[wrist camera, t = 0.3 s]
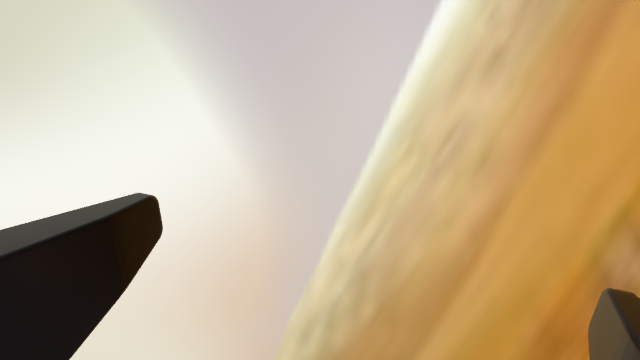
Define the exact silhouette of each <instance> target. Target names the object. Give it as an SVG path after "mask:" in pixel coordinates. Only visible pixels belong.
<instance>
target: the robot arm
mask: <svg viewBox="0 0 640 360" xmlns="http://www.w3.org/2000/svg"><path fill="white" fill-rule="evenodd" d="M162 229H163V226H162V220H161V214H160V208H159V203H158V200H157V198H156V197H154V196H152V195H147V194H142V193H136V194H132V195H128V196H125V197H121V198H117V199H114V200H110V201H106V202H102V203H99V204H95V205H91V206H88V207H84V208H80V209H77V210H73V211H69V212H65V213H62V214H58V215H54V216H51V217H47V218H43V219H40V220H36V221H32V222H29V223H25V224H21V225H18V226H14V227H10V228H6V229H3V230H0V360H69V359H70V358H71V357H72V356H73V354H74V353H75V352H76V351H77V350H78V348H79V347H80V346H81V345H82V343H83V342H84V341H85V340H86V338H87V337H88V336H89V335H90V333H91V332H92V331H93V330H94V328H95V327H96V326H97V325H98V324H99V322H100V321H101V320H102V319H103V317H104V316H105V315H106V314H107V312H108V311H109V310H110V309H111V307H112V306H113V305H114V304H115V303H116V301H117V300H118V299H119V298H120V296H121V295H122V294H123V292H124V291H125V290H126V288H127V287H128V286H129V284H130V283H131V281H132V280H133V278H134V277H135V275H136V274H137V272H138V270H139V269H140V268H141V266H142V264H143V263H144V261H145V260H146V258H147V257H148V255H149V254H150V252H151V251H152V249H153V248H154V246H155V244H156V243H157V242H158V240H159V239H160V237H161V234H162ZM588 340H589V356H590V360H640V298H638V297H637V296H636V295H635V294H633V293H631V292H627V291H622V290H617V289H612V288H607V289H605V290H604V291H603V292H602V293H601V296H600V298H599V301H598V303H597V306H596V309H595V311H594V314H593V316H592V319H591V322H590V325H589V332H588Z"/></svg>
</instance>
